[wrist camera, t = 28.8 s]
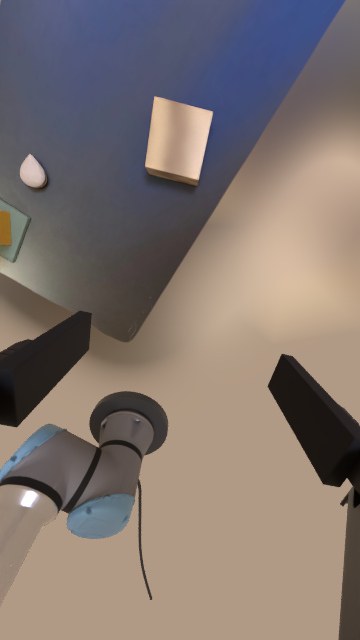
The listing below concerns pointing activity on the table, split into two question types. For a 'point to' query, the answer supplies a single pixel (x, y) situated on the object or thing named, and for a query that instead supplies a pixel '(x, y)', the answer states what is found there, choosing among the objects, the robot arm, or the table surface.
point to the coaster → (14, 231)
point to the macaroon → (32, 173)
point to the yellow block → (5, 228)
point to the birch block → (177, 141)
